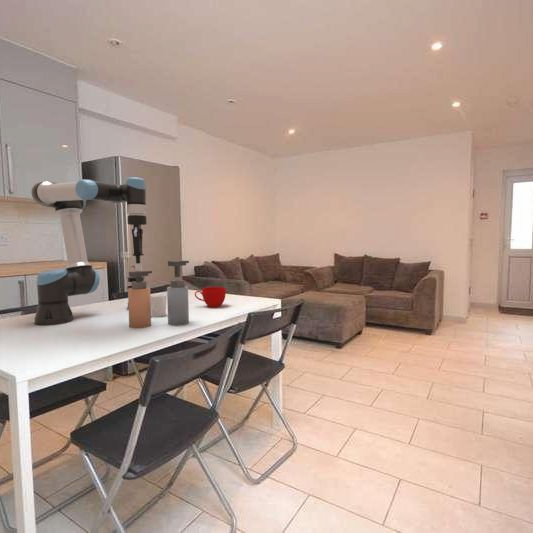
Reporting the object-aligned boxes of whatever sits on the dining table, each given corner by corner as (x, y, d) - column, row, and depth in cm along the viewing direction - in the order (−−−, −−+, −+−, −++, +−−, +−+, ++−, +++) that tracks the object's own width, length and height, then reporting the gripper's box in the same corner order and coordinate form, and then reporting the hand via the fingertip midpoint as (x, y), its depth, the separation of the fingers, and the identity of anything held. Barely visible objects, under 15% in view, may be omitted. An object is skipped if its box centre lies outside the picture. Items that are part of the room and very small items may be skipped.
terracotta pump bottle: (138, 328, 148) (136, 283, 147) (124, 326, 153) (123, 282, 151) (155, 324, 155) (154, 281, 154) (142, 322, 160) (141, 280, 159)
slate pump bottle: (177, 326, 152) (176, 282, 151) (163, 323, 157) (162, 280, 156) (193, 322, 160) (192, 279, 158) (178, 319, 165) (178, 278, 163)
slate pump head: (175, 277, 153) (175, 261, 152) (168, 277, 155) (167, 261, 155) (191, 275, 161) (191, 260, 161) (184, 275, 163) (184, 260, 163)
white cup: (148, 314, 176) (148, 294, 175) (165, 313, 180) (164, 293, 179) (151, 317, 169) (150, 296, 168) (168, 316, 173) (167, 295, 172)
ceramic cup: (195, 305, 202) (194, 287, 201) (225, 303, 205) (225, 286, 204) (194, 309, 189) (194, 290, 188) (226, 308, 192) (226, 289, 192)
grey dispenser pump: (136, 289, 149) (135, 272, 149) (129, 288, 151) (128, 271, 151) (154, 286, 157) (154, 270, 157) (148, 285, 160) (147, 270, 159)
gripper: (144, 214, 145) (146, 272, 147) (148, 216, 158) (149, 269, 159) (124, 214, 143) (126, 272, 145) (130, 216, 156) (131, 270, 158)
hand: (138, 271), depth 152 cm, fingers closed
